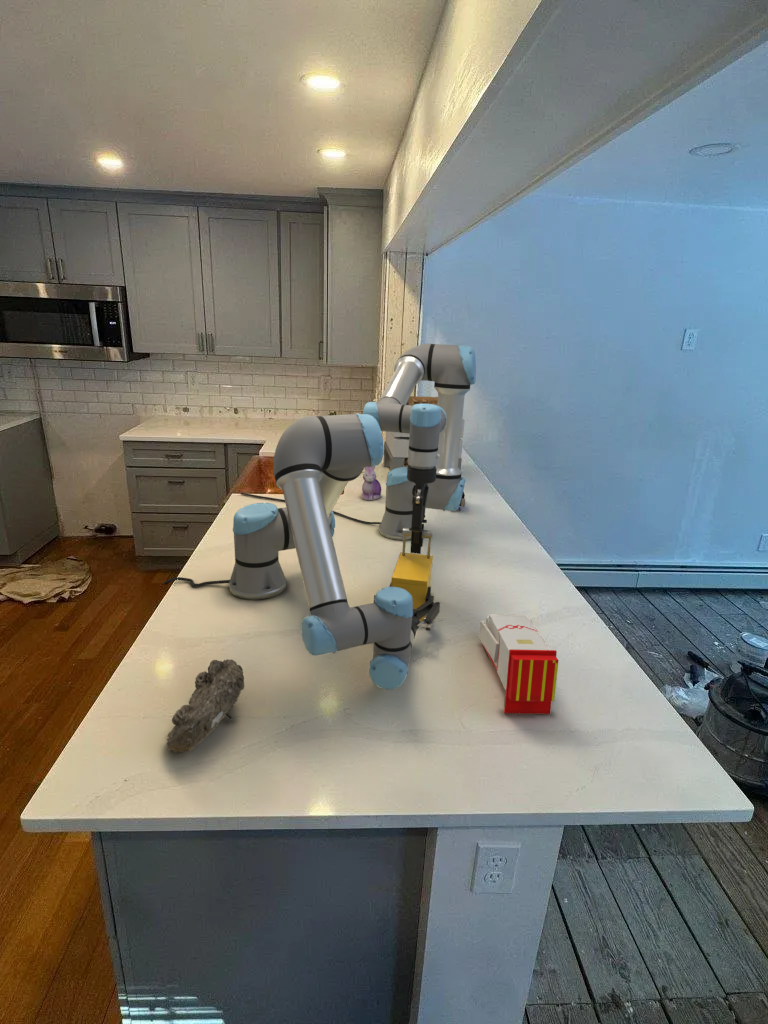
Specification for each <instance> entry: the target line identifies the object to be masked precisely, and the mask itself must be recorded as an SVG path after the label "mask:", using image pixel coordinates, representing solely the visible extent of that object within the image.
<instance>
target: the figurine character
mask: <svg viewBox="0 0 768 1024" xmlns="http://www.w3.org/2000/svg"><path fill="white" fill-rule="evenodd" d="M465 496H466V494H465V492H464V490H463V494H462V498H461V502H460V505H459V507H458V509H457V510H458V511H461V510H462V509H461V508H465V505H466V497H465Z"/></svg>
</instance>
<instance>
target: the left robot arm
mask: <svg viewBox="0 0 768 1024" xmlns="http://www.w3.org/2000/svg"><path fill="white" fill-rule="evenodd" d="M383 459H384V439H383V433H382V431H381V429H380V426H379V424H378V422H377V420H376V419H375V418H374V417H373V416H371V415H369V414H363V413H358V412H356V413H349V414H348V413H347V414H333V415H332V414H331V415H309V416H307V415H306V416H303V417H300V418H298V419H297V420H295V421H293V422H292V423H291V424H290V425H288V426H287V428H286V429H285V430H284V431H283V433H282V434H281V436H280V438H279V440H278V442H277V445H276V448H275V451H274V454H273V466H272V467H273V476H274V481H275V485H276V487H277V488H278V489H280V490H282V495H283V500H285V502H284V503H285V507H278V506H277V505H276V504H274V503H271V502H255V503H251V504H248V505H245V506H242V507H240V508H239V510H237V511H236V512H235V513H234V515H233V522H232V523H233V524H232V532H233V543H234V546H233V547H234V566H233V570H232V572H231V575H230V579H222V580H221V579H220V580H209V581H203V582H199V583H195V581H194V579H192V578H188V577H181V576H176V577H171V578H169V579H167V580H166V581H164V582H163V585H165V586H166V585H168V584H170V583H172V582H174V581H175V582H176V581H184V582H189V583H190V584H191V586H192V587H195V588H198V587H199V588H200V587H204V586H208V585H220V584H222V585H223V584H229V592H230V593H231V594H232V595H233V596H235V597H236V598H240V599H244V600H248V601H249V600H250V601H251V600H252V601H255V600H256V601H258V600H266V599H270V598H274V597H276V596H278V595H280V594H281V593H283V592H284V591H285V590H286V587H287V581H286V575H285V573H284V571H283V567H282V566H281V563H280V560H279V552H281V551H288V550H295V551H296V556H297V561H298V566H299V569H300V574H301V578H302V582H303V587H304V591H305V592H304V593H305V595H306V601H307V605H308V609H309V615H308V616H305V617H304V618H303V619H302V621H301V623H300V624H301V625H300V629H301V639H302V642H303V645H304V648H305V650H306V651H307V652H308V654H310V655H311V656H314V657H317V656H323V655H328V654H336V653H337V652H340V651H345V650H349V649H352V648H357V647H359V646H364V645H370V644H373V648H372V658H371V660H370V664H369V666H370V667H369V670H368V674H369V677H370V680H371V681H372V683H373V684H374V685H375V686H376V687H378V688H380V689H383V690H395V689H398V688H399V687H401V686H402V685H403V684H404V682H405V681H406V677H407V675H408V674H409V665H410V661H411V655H412V652H413V648H414V642H415V638H416V634H417V631H418V630H419V629H420V628H424V629H425V631H427V632H429V631H431V630H432V624H433V622H434V621H435V620H436V618H437V617H438V616H439V614H440V609H441V602H439V601H436V602H435V596H434V595H431V594H432V593H431V592H432V587H428V590H427V595H426V600H425V603H424V604H422V605H421V606H420V607H418V608H417V609H413V600H412V596H411V594H410V593H409V592H407V591H406V590H405V589H402V588H399V587H391V582H390V583H389V586H386V587H382V588H381V589H379V590H378V591H377V592H376V593H375V594H374V595H373V602H371V603H366V604H361V605H357V606H351V607H350V605H349V602H348V597H347V592H346V589H345V584H344V580H343V576H342V573H341V568H340V564H339V559H338V555H337V551H336V547H335V543H334V538H333V537H334V535H335V528H336V519H335V518H336V517H335V513H333V511H334V507H335V506H336V504H337V502H338V500H339V499H340V497H341V495H342V494H343V492H344V491H345V489H346V487H347V485H348V484H349V482H352V481H354V480H356V479H357V478H359V477H360V476H361V474H362V473H363V471H364V470H365V467H369V466H371V467H373V466H375V467H376V466H379V465H380V464H381V463H382V461H383ZM177 579H178V580H177ZM425 615H426V617H424V616H425ZM422 617H424V619H423V620H422V621H419V620H420V619H421V618H422Z"/></svg>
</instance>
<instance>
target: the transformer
mask: <svg viewBox="0 0 768 1024" xmlns="http://www.w3.org/2000/svg"><path fill="white" fill-rule="evenodd" d="M437 402H438V396H415V395H414V396H413V395H412V396H410V398H409V400H408V402H407V404H406V405H415V404H434V405H437ZM464 429H465V419H464V418H462V428H461V438H460V449H459V459H458V468H459V469H460V470H461V471H462V461H463V460H462V453H463V442H464V441H463V440H462V439H463V438H464V431H465V430H464ZM409 435H410V434H409V433H399V432H387V431H385V438H384V441H383V447H384V451H383V466H384V467H388V468H389V472H390V471H391V470H393V469H396V468H401V467H405V466H406V467H408V466H409V464H408V463H407V462H408V448H409Z"/></svg>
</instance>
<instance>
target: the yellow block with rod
mask: <svg viewBox="0 0 768 1024" xmlns="http://www.w3.org/2000/svg"><path fill="white" fill-rule="evenodd" d="M411 534H412V531H409V528H403V540H402V549H401V550H402V551H400V553H399V555H398V558H397V561H396V563H395V567H394V569H393V573H392V575H391V580H390V581H391V582H401V583H410V584H418V585H427V584H428V579H429V575H430V570H431V565H432V566H433V562H432V561H433V560H434V555H431V550H432V549H431V546H432V539H433V530H428V529H424V530H422V538H423V539H428V540H427V554H421V553H420V554H416V553H410V552H406V545H407V540H406V536H409V537H411Z"/></svg>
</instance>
